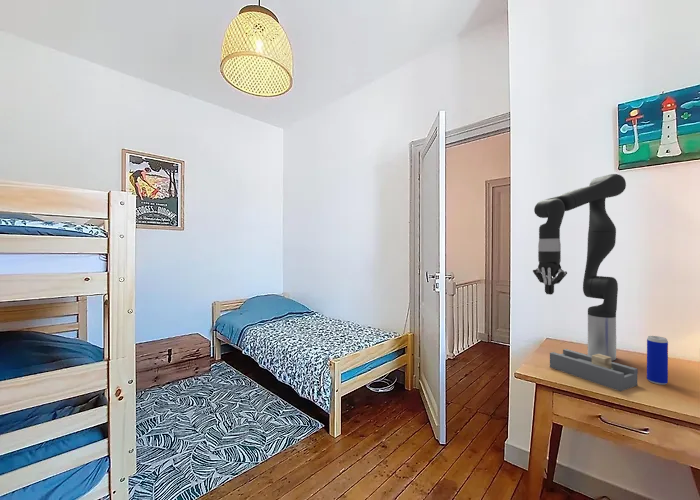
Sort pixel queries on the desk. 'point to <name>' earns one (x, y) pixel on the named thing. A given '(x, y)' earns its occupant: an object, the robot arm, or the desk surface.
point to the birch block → (601, 360)
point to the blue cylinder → (657, 360)
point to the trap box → (594, 370)
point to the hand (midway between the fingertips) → (549, 294)
